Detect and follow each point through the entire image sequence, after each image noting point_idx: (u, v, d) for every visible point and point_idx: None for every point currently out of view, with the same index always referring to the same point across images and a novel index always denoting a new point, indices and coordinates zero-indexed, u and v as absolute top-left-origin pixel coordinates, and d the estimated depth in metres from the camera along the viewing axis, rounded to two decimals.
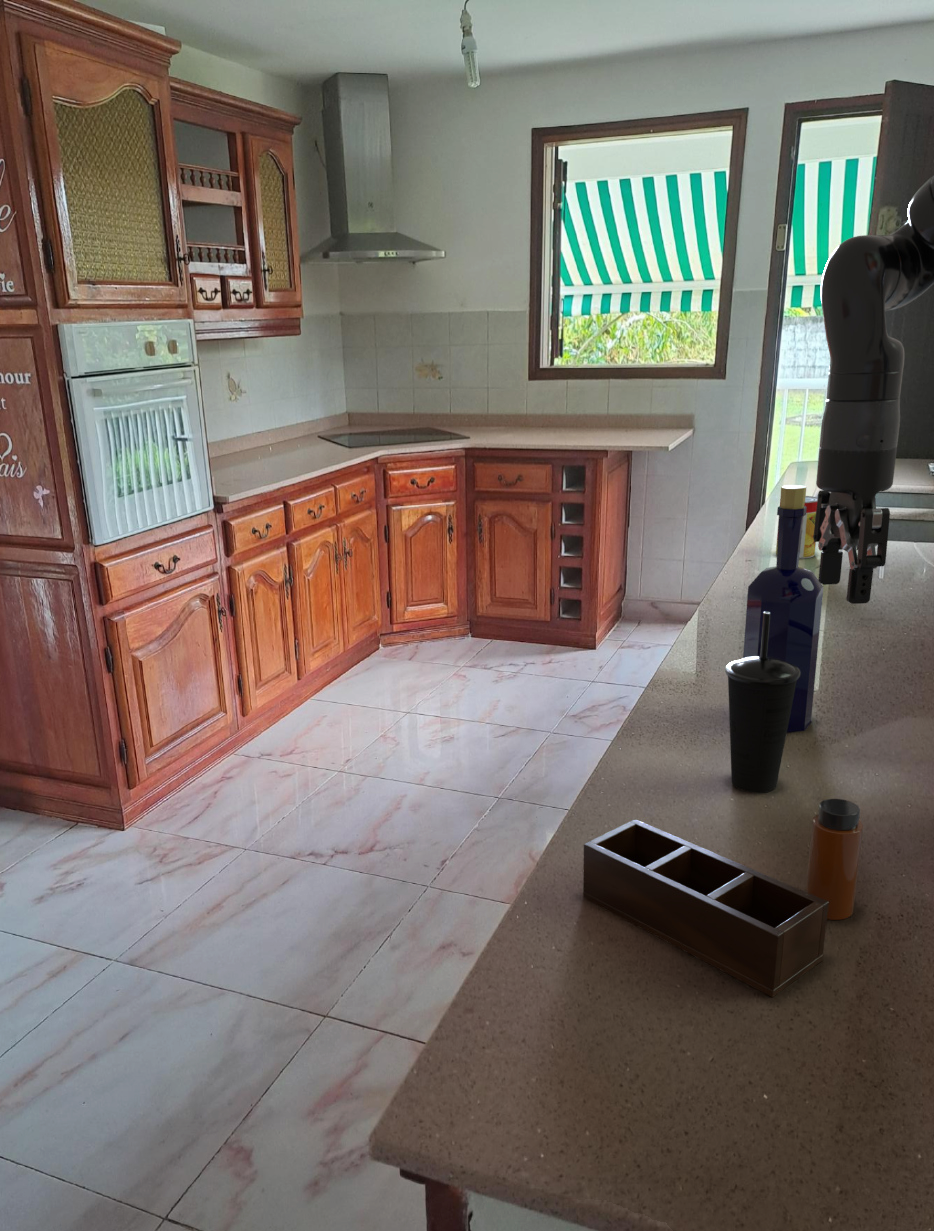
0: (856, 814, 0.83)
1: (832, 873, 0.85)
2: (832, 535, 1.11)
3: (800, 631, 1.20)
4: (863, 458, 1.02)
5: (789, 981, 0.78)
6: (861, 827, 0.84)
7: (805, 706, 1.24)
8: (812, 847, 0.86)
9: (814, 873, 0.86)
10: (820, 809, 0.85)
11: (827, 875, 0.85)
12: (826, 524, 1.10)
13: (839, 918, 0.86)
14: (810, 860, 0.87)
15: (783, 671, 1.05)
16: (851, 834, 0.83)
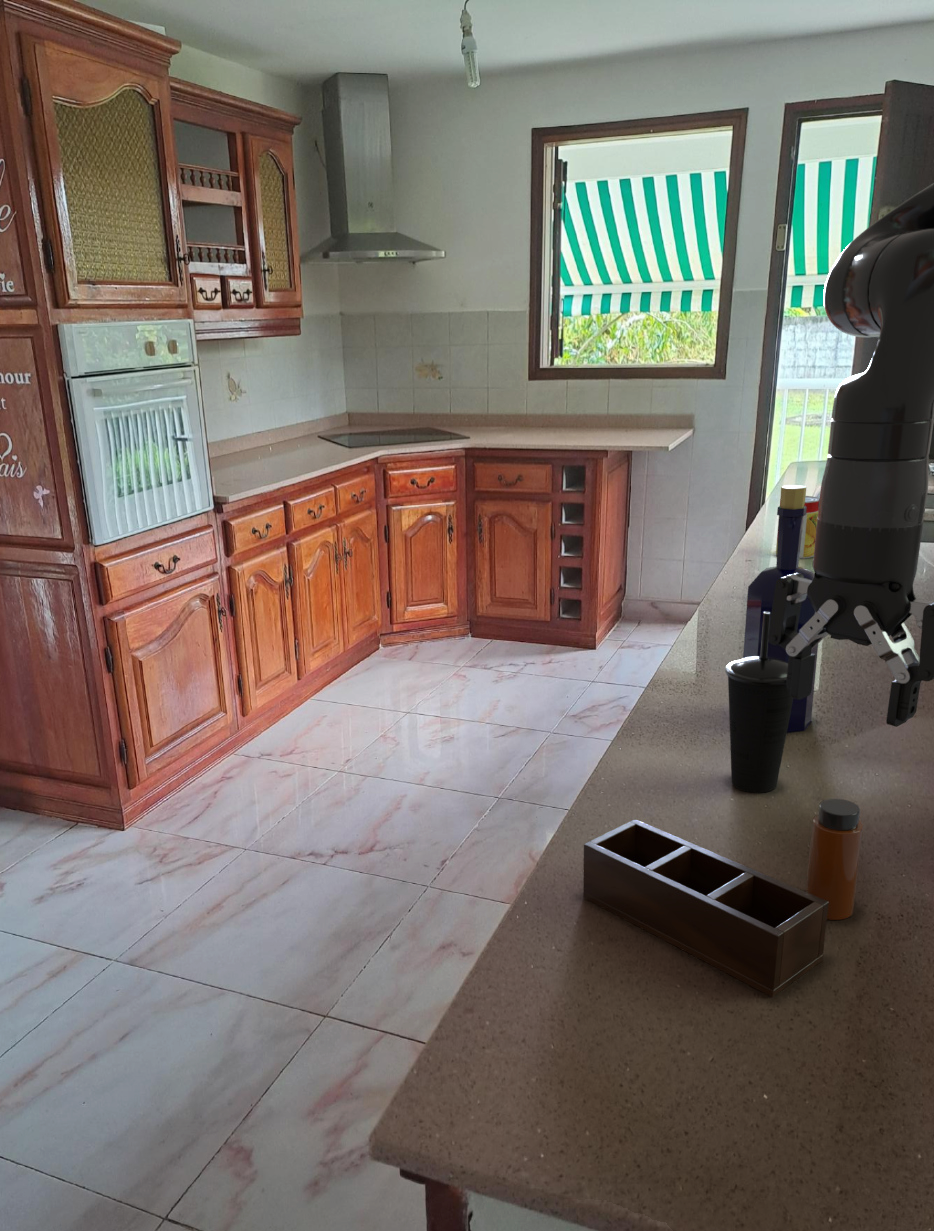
0: (856, 814, 0.83)
1: (832, 873, 0.85)
2: (817, 636, 0.82)
3: None
4: (910, 536, 0.74)
5: (789, 981, 0.78)
6: (861, 827, 0.84)
7: (805, 706, 1.24)
8: (812, 847, 0.86)
9: (814, 873, 0.86)
10: (820, 809, 0.85)
11: (827, 875, 0.85)
12: (820, 624, 0.81)
13: (839, 918, 0.86)
14: (810, 860, 0.87)
15: (783, 671, 1.05)
16: (851, 834, 0.83)
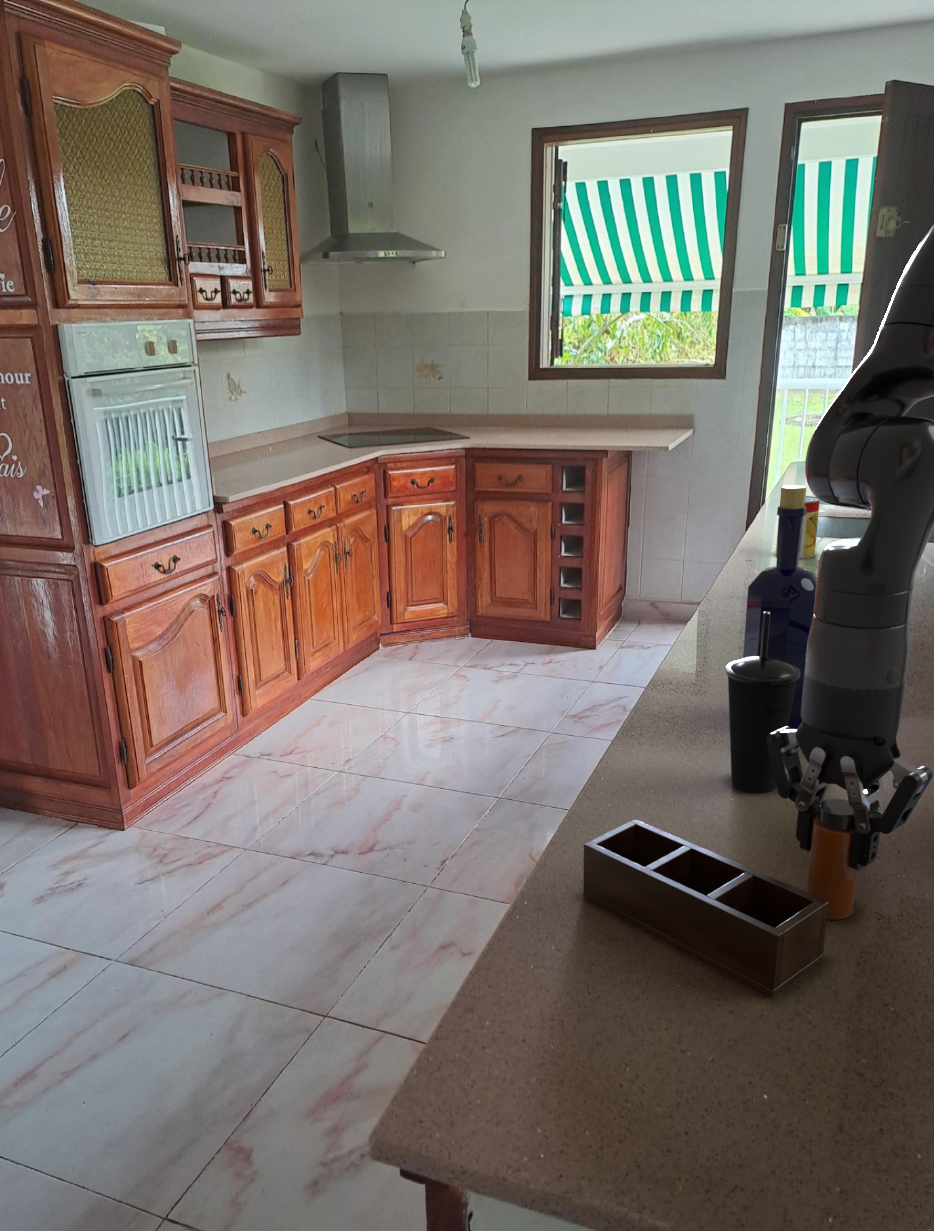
0: None
1: (832, 873, 0.85)
2: (819, 785, 0.85)
3: (800, 631, 1.20)
4: (892, 695, 0.78)
5: (789, 981, 0.78)
6: None
7: None
8: (812, 847, 0.86)
9: (814, 873, 0.86)
10: (820, 809, 0.85)
11: (827, 875, 0.85)
12: (816, 773, 0.84)
13: (839, 918, 0.86)
14: (810, 860, 0.87)
15: (783, 671, 1.05)
16: (851, 834, 0.83)
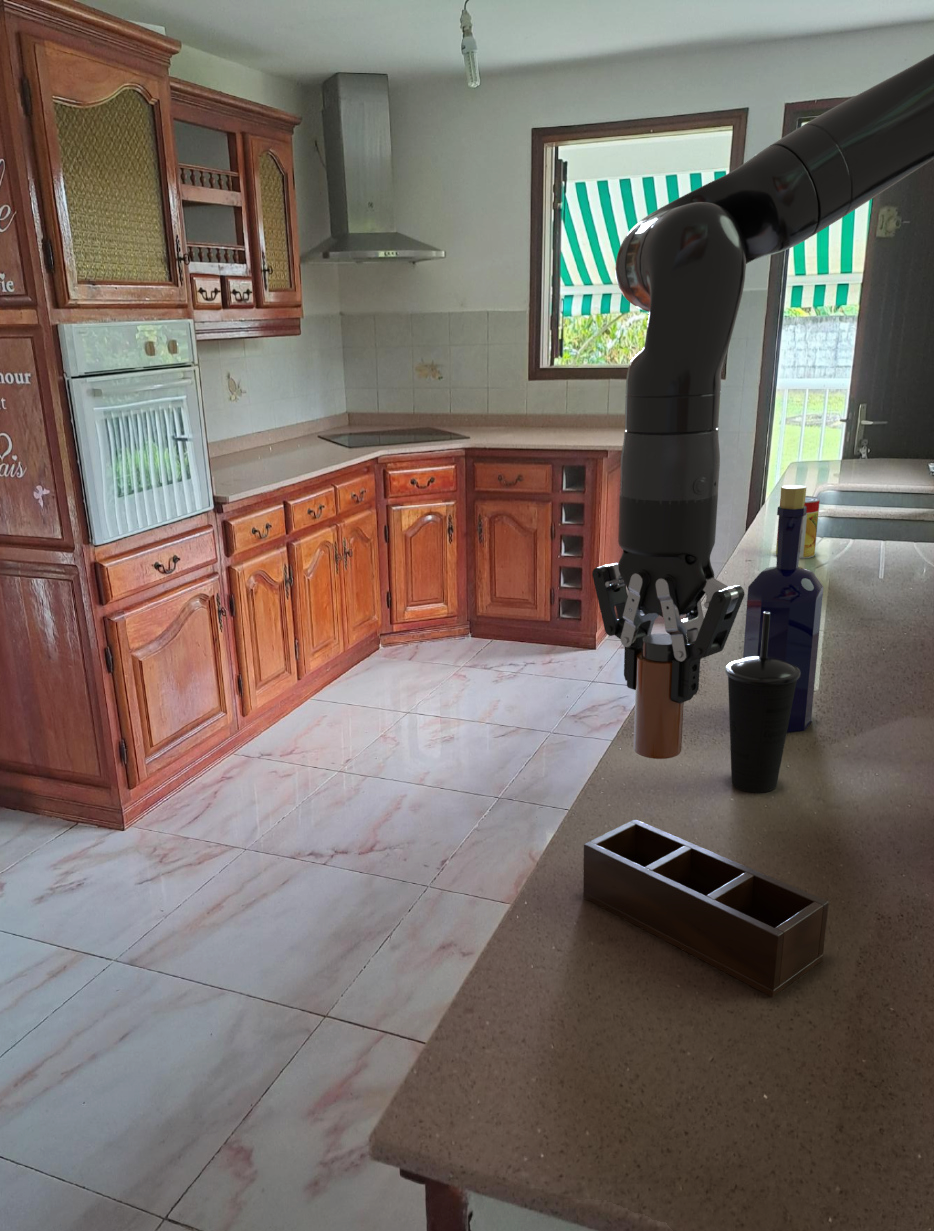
0: None
1: (654, 708, 0.82)
2: (642, 617, 0.82)
3: (800, 631, 1.20)
4: (700, 508, 0.75)
5: (789, 981, 0.78)
6: None
7: (805, 706, 1.24)
8: (636, 683, 0.84)
9: (639, 710, 0.84)
10: (642, 642, 0.82)
11: (650, 710, 0.83)
12: (636, 602, 0.81)
13: (664, 757, 0.84)
14: (635, 698, 0.84)
15: (783, 671, 1.05)
16: (671, 664, 0.81)
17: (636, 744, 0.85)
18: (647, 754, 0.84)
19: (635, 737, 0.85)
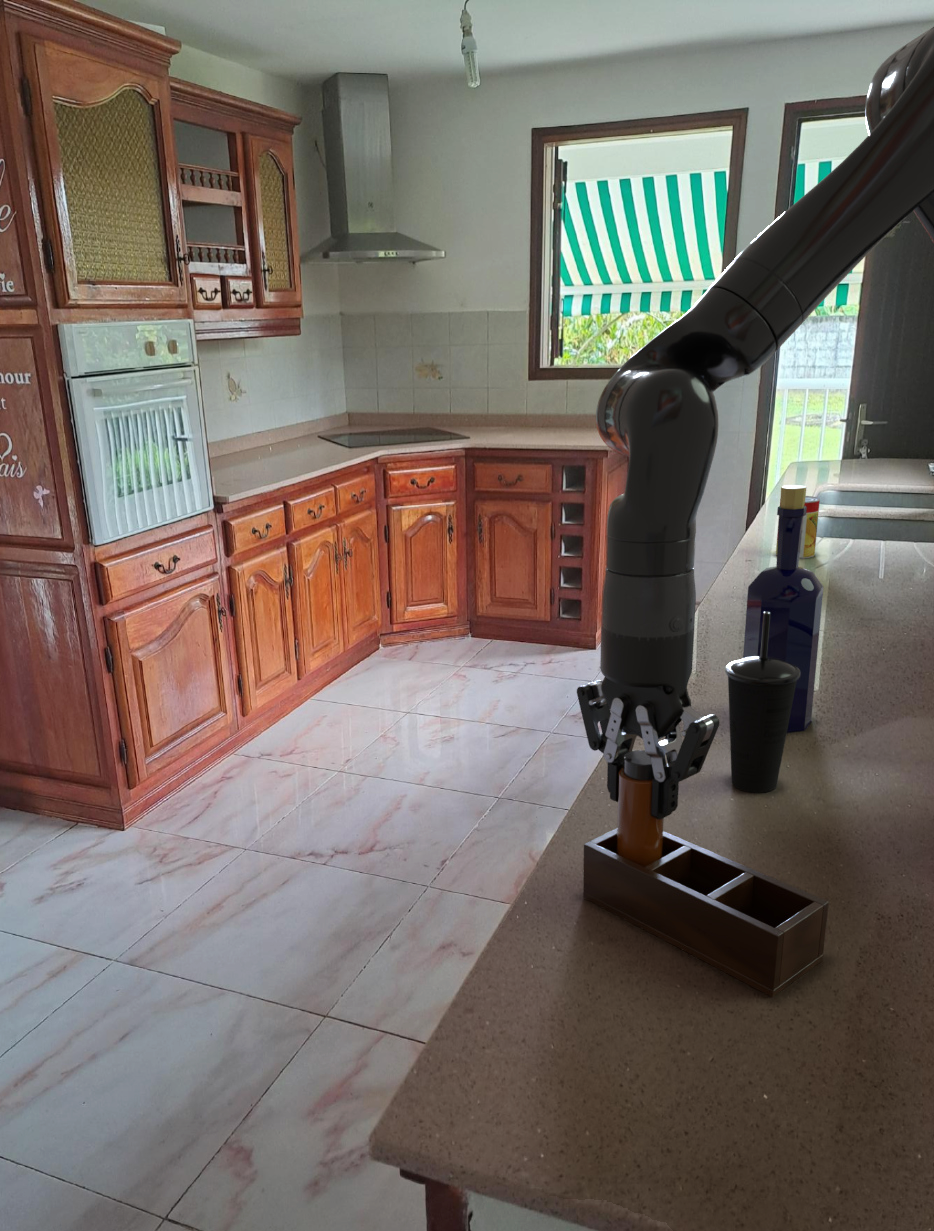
0: None
1: (635, 823, 0.86)
2: (623, 736, 0.86)
3: (800, 631, 1.20)
4: (677, 644, 0.79)
5: (789, 981, 0.78)
6: None
7: (805, 706, 1.24)
8: (618, 797, 0.88)
9: (621, 823, 0.88)
10: (624, 760, 0.86)
11: (631, 824, 0.87)
12: (617, 723, 0.85)
13: None
14: (618, 811, 0.88)
15: (783, 671, 1.05)
16: (651, 783, 0.85)
17: (618, 854, 0.89)
18: None
19: (618, 847, 0.89)
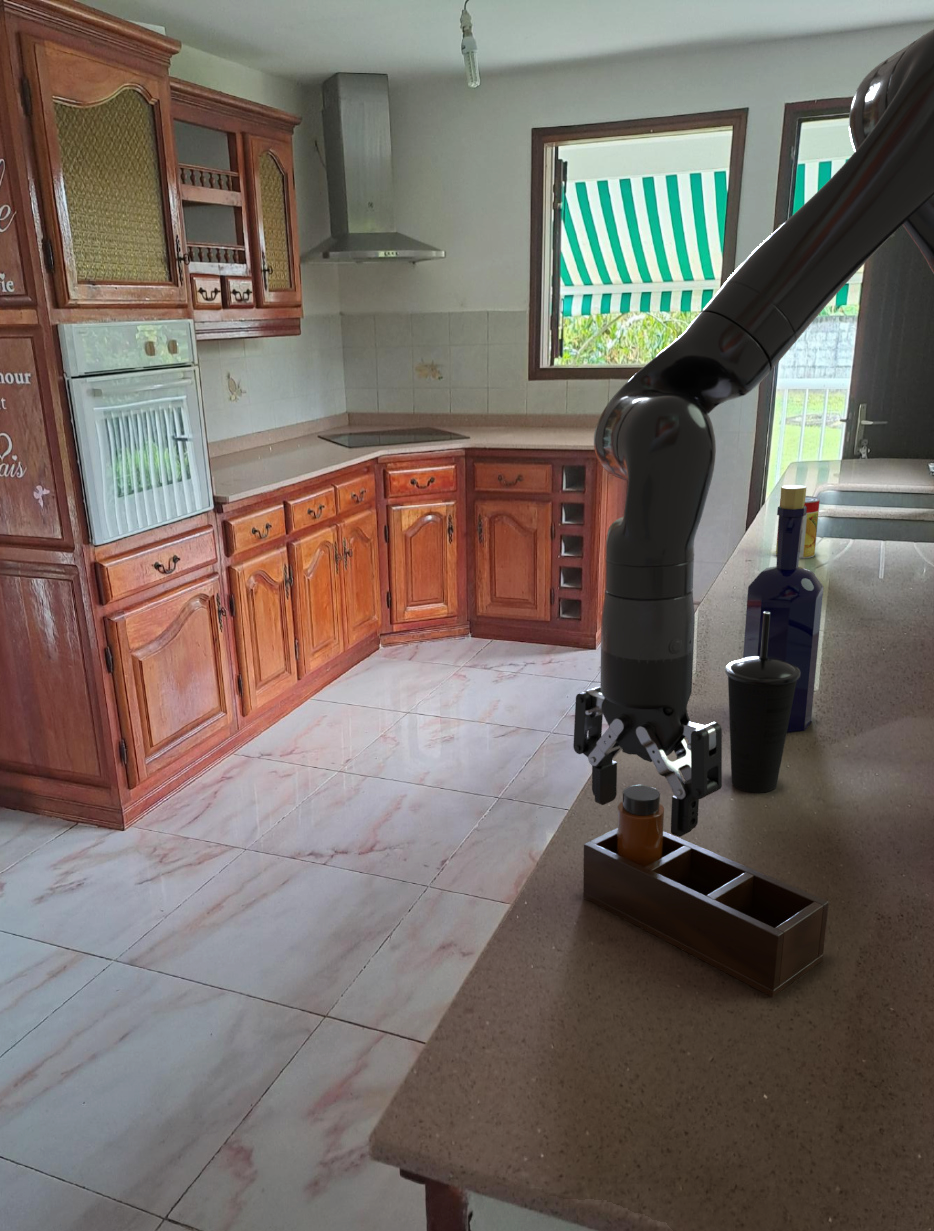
0: (654, 799, 0.86)
1: (634, 857, 0.88)
2: (613, 748, 0.88)
3: (800, 631, 1.20)
4: (676, 666, 0.80)
5: (789, 981, 0.78)
6: (661, 812, 0.87)
7: (805, 706, 1.24)
8: (617, 832, 0.89)
9: None
10: (623, 795, 0.88)
11: (631, 859, 0.88)
12: (612, 739, 0.86)
13: None
14: (617, 845, 0.89)
15: (783, 671, 1.05)
16: (650, 819, 0.86)
17: None
18: None
19: None
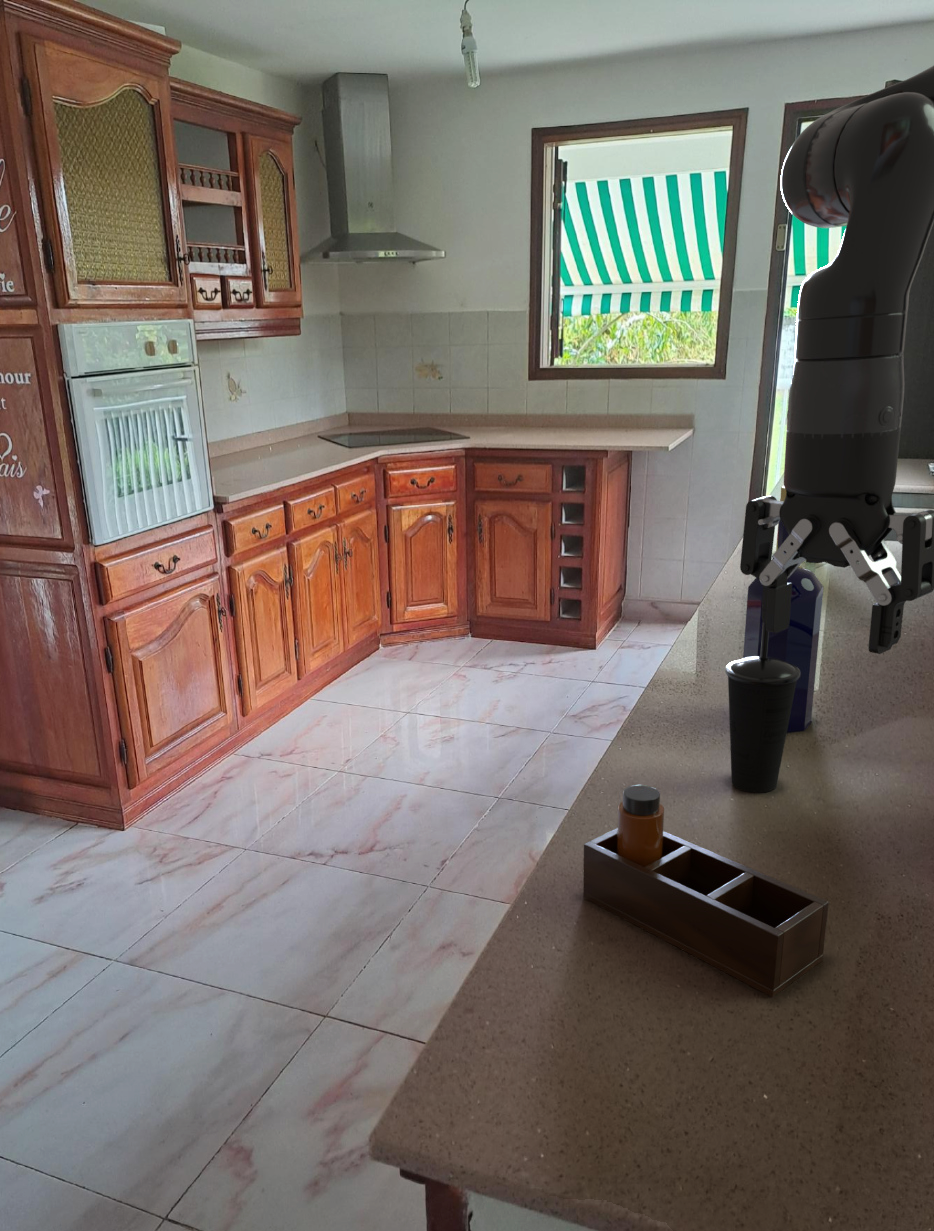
0: (654, 799, 0.86)
1: (634, 857, 0.88)
2: (792, 561, 0.76)
3: (800, 631, 1.20)
4: (886, 442, 0.68)
5: (789, 981, 0.78)
6: (661, 812, 0.87)
7: (805, 706, 1.24)
8: (617, 832, 0.89)
9: None
10: (623, 795, 0.88)
11: (631, 859, 0.88)
12: (794, 547, 0.75)
13: None
14: (617, 845, 0.89)
15: (783, 671, 1.05)
16: (650, 819, 0.86)
17: None
18: None
19: None
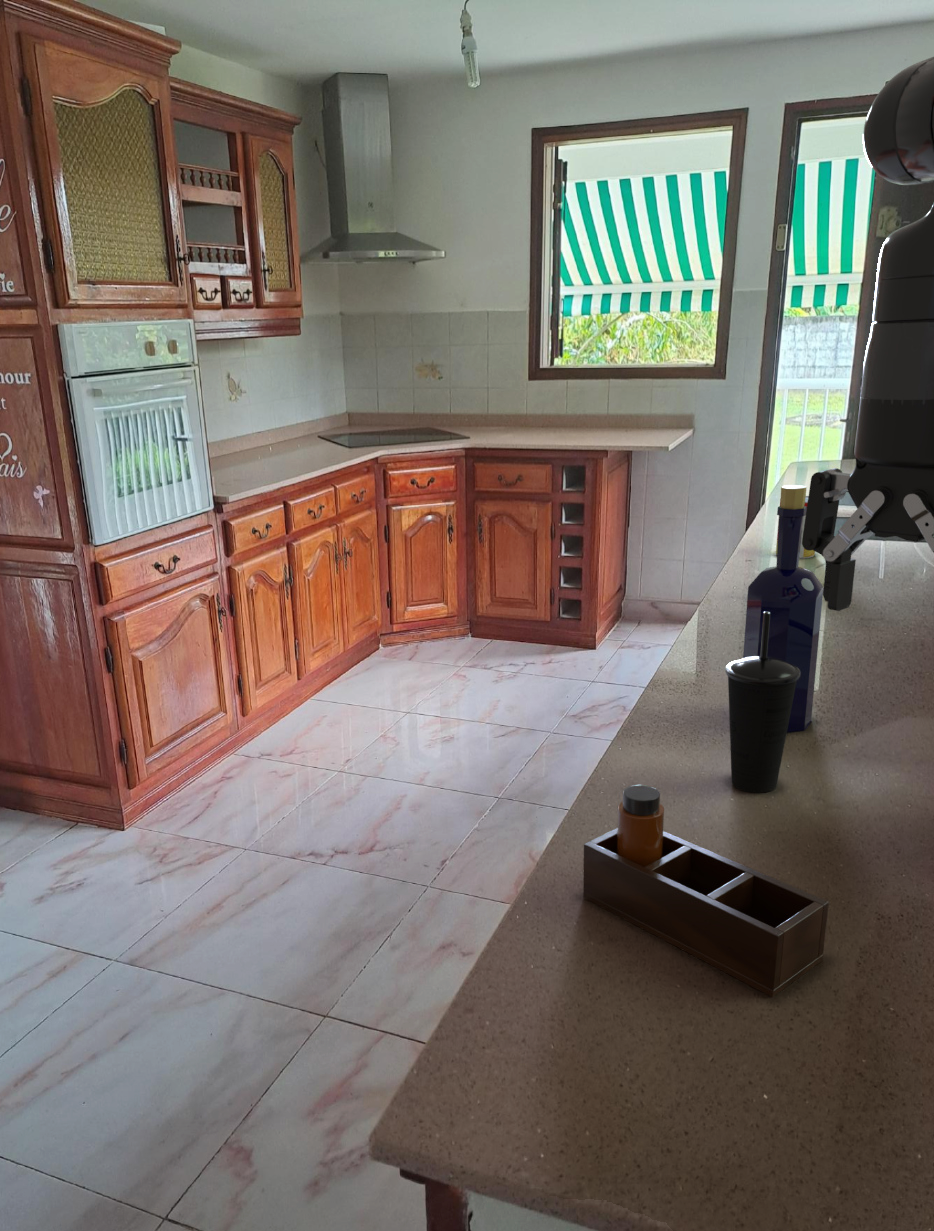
0: (654, 799, 0.86)
1: (634, 857, 0.88)
2: (859, 536, 0.73)
3: (800, 631, 1.20)
4: None
5: (789, 981, 0.78)
6: (661, 812, 0.87)
7: (805, 706, 1.24)
8: (617, 832, 0.89)
9: None
10: (623, 795, 0.88)
11: (631, 859, 0.88)
12: (863, 520, 0.72)
13: None
14: (617, 845, 0.89)
15: (783, 671, 1.05)
16: (650, 819, 0.86)
17: None
18: None
19: None
